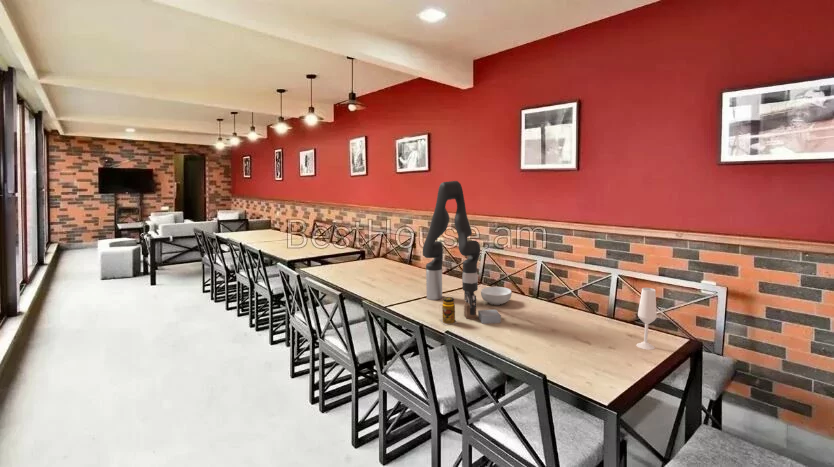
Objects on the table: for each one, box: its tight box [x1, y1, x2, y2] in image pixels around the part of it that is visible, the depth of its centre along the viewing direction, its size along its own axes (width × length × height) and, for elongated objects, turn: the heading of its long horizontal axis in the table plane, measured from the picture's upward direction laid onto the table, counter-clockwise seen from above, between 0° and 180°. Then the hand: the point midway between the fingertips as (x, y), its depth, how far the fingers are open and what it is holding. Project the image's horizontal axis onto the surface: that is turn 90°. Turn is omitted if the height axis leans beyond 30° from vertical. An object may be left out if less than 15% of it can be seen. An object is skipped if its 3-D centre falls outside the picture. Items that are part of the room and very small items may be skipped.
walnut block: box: [463, 302, 477, 320], centre depth 210 cm, size 5×5×7 cm
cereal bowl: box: [480, 286, 512, 306], centre depth 232 cm, size 17×17×7 cm
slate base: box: [477, 309, 502, 325], centre depth 205 cm, size 9×9×4 cm
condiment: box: [438, 296, 459, 326], centre depth 204 cm, size 7×8×12 cm
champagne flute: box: [635, 287, 658, 351], centre depth 169 cm, size 7×7×24 cm
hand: (470, 312), depth 210 cm, fingers open, 8 cm apart
